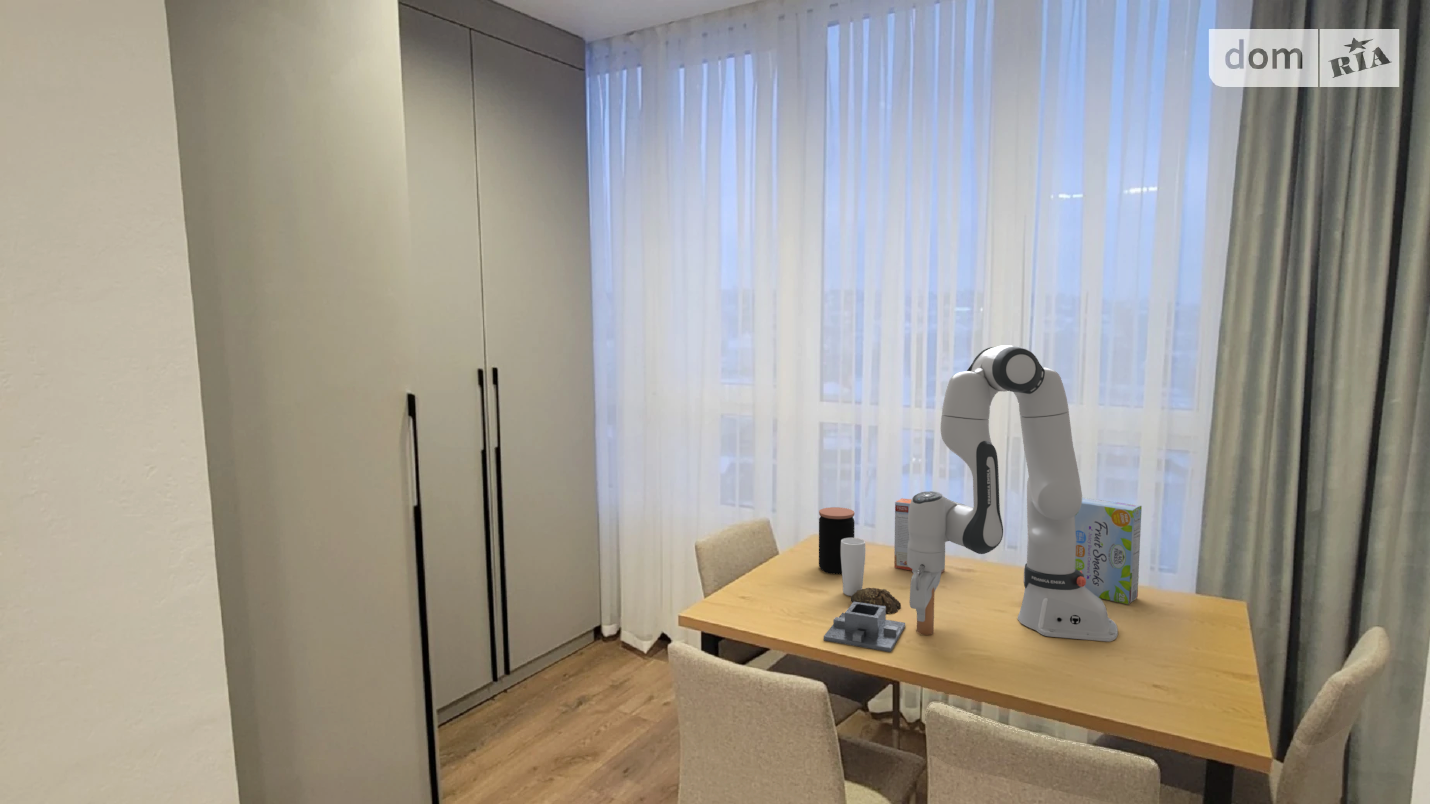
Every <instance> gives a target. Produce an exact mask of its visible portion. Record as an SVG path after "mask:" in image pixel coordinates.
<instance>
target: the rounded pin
mask: <svg viewBox="0 0 1430 804" xmlns="http://www.w3.org/2000/svg"><path fill="white" fill-rule="evenodd" d="M934 590H935V589H934V588H933V589H932V597H931V599H930V601H929V603H928V605H927V607H926V608H925V613H926V619H925V621H924V622H921V621H918V620H917V619H916V632H917V633H918V634H920V635H924V636H931V635H933V634H934V630H935V625H934V622H935V620H934V618H935V592H934ZM917 591H918V590H917ZM935 591H936V590H935Z"/></svg>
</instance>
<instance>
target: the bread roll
mask: <svg viewBox="0 0 1430 804" xmlns="http://www.w3.org/2000/svg"><path fill="white" fill-rule="evenodd" d="M853 602H860V603H867V604H873V605H880V606H886V614H887V613H888V614H896V613H897V612H898V610H899V609H901V607H902V605H901V602H900V601H899V600H898V599H897V598H896V597H895V596H893V594H891V592H890V590H889V591H888V590H887V589H885V588H883V589H882V588H876V587H865V588H862V589H861V590H857V592H856V593H854V594H853V595H852V596H850V603H851V604H852V603H853Z"/></svg>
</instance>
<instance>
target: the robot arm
mask: <svg viewBox="0 0 1430 804" xmlns="http://www.w3.org/2000/svg"><path fill="white" fill-rule="evenodd" d="M999 392H1012V393H1013V394H1014V395H1015V397H1016V399H1017V400H1016V401H1017V402H1018V411H1019V412H1018V413H1019V419H1020V427H1021V433H1022V434H1021V435H1022V442H1023V443H1022V444H1023V450H1024V455H1025V456H1024V457H1025V460H1026V461H1025V462H1026V466H1027V467H1026V468H1027V474H1028V478H1027V483H1026V513H1027V514H1026V520H1027V521H1026V522H1027V545H1026V563H1025V565H1024V569H1023V586H1024V592H1023V598H1022V603H1021V606H1020V610H1019V613H1018V615H1017V620H1018V622H1019V623H1020V624H1022V625H1024V626H1025V627H1027V628H1029V629H1031V630H1034V631H1037V633H1039V634H1041V635H1042V636H1044V637H1052V638H1054V637H1055V638H1063V639H1064V638H1065V639H1075V640H1077V639H1078V640H1087V641H1088V640H1089V641H1098V642H1099V641H1100V642H1112V641H1114V640H1116V639H1117V638H1118V635H1119V631H1118V630H1119V629H1118V625H1117V624H1116V622H1115V621H1114V620H1113V619H1111V618H1110V617H1109V614H1108V611H1107V608H1106V605H1105V603H1104V601H1103V599H1101V598H1098V597H1097V596H1096V595H1095V594H1093V593H1092V592H1091V591H1090V590H1088V589H1087V588H1086V587H1085V586H1084V585H1086V579H1085V578H1084V575H1083V574H1082V571H1081V570H1080V571H1078V570H1077V569H1075V558H1076V531H1075V515H1076V514H1077V513H1078V511H1079V510H1080V507H1081V504H1082V498H1083V492H1082V486H1081V485H1082V484H1081V481H1080V480H1081V479H1080V474H1079V469H1078V464H1077V463H1078V462H1077V458H1076V453H1075V447H1074V442H1073V436H1072V427H1071V418H1070V411H1069V409H1070V408H1069V405H1068V398H1067V394H1066V391H1065V387H1064V383H1063V381H1062V378H1061V375H1060V374H1059V373H1058V372H1057V371H1056V370H1053V369H1052V368H1048V367H1043V365H1041V363H1040V361H1039V359H1038V358H1037V356H1036V355H1035V354H1034V353H1033V352H1032V351H1031V350H1029V349H1027V348H1025V347H1023V346H1020V345H1019V346H1018V345H1014V346H1013V345H1009V344H1007V345H998V346H990V347H987V348H985V349H983V350H981V351H980V352H979V353H978V354H977V355H976V356H975V357H974V359H973V360H972V363H971V364H970V366H969V367H968V369H967V370H966V371H960V372H957V373H954V374H953V375H952V376H951V377H950V379H949V380H948V384H947V386H946V391H945V394H944V399H943V403H942V410H941V411H942V412H941V418H940V436H941V437H940V438H941V440H942V441H943V444H945V446H946V447H947V448H948V449H949V450H950V451H951V452H952V453H954V454H955V455H957V456H958V457H959V458H960V459H961V460H962V461H963V462H964V463H965V464H966V465H967V467H968V468H969V470H970V472H971V475H972V491H973V492H972V493H973V495H972V496H973V506H969V505H966V504H963V503H960V502H956V501H954V500H950V499H948V498H946V497H945V496H944V495H943V494H942V493H940V492H938V491H934V490H933V491H930V490H929V491H921V492H919V493H917V494H915V495H913V496H912V498H911V499H912V500H911V503H910V507H909V514H908V532H909V542H908V546H907V565H908V567H910V568H912V571H911V572H912V576H911V579H910V589H909V591H910V592H909V607H910V608H911V609H914V610H915V612H916V621H917V620H918V621H921V622H924V621H925V619H926V613H925V608H926V607H927V605H928V603H929V601H930V599H931V597H932V589H933V588H934V589H935V590H934V593H935V592H936V590H937V588H938V586H939V585H940V581H941V576H942V573H941V570H943V569H944V568H945V569H946V543H947V542H951V543H953V544H956V545H958V546H961V547H964V548H966V549H968V550H970V551H972V552H973V553H976V554H978V555H984V554H988V553H990V552H993V550H995V549H997V547H998V546H999V545H1000V544H1001V543H1002V540H1003V537H1004V526H1003V521H1002V519H1003V518H1002V516H1001V507H1000V505H1001V504H1000V503H1001V502H1000V481H999V480H1000V479H999V478H1000V477H999V459H998V452H997V449H996V448H995V446H994V444H993V442H992V440H991V435H990V427H989V424H990V421H989V420H990V412H991V410H990V409H991V405H992V401H993V399H994V398H995V395H996V394H998V393H999ZM917 590H918V591H917Z"/></svg>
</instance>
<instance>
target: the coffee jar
mask: <svg viewBox="0 0 1430 804" xmlns="http://www.w3.org/2000/svg"><path fill="white" fill-rule="evenodd" d="M818 514H819V516H820V517H819V518H818V567H819V569H820V570H821V571H822V572H824V573H825V574H830V575H842V567H841V540H842V539H845V538H855V518H854V516H855V510H853V509H851V508H847V507H846V508H845V507H839V506H837V507H835V506H832V507H823V508H821V509H819V510H818Z"/></svg>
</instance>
